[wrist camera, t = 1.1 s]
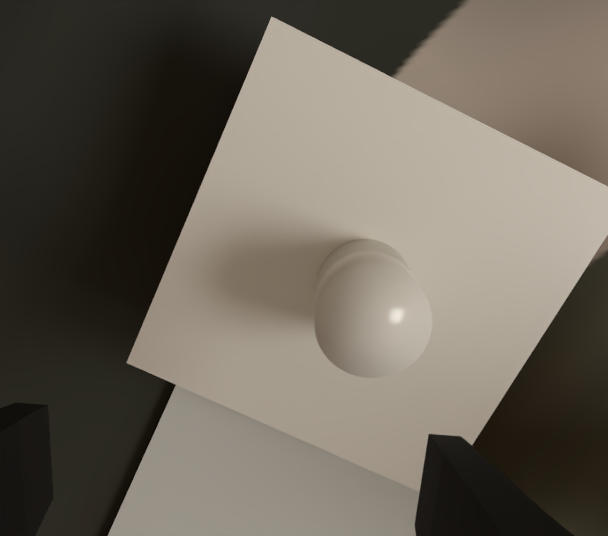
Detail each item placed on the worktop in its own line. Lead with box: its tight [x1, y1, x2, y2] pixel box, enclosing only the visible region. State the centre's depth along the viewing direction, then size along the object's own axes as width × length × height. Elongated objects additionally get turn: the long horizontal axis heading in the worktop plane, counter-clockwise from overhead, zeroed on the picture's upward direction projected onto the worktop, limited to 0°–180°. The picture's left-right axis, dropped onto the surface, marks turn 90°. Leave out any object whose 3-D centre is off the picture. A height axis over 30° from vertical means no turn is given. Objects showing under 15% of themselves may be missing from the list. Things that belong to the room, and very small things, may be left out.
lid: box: [127, 17, 608, 492], centre depth 15 cm, size 11×11×4 cm
